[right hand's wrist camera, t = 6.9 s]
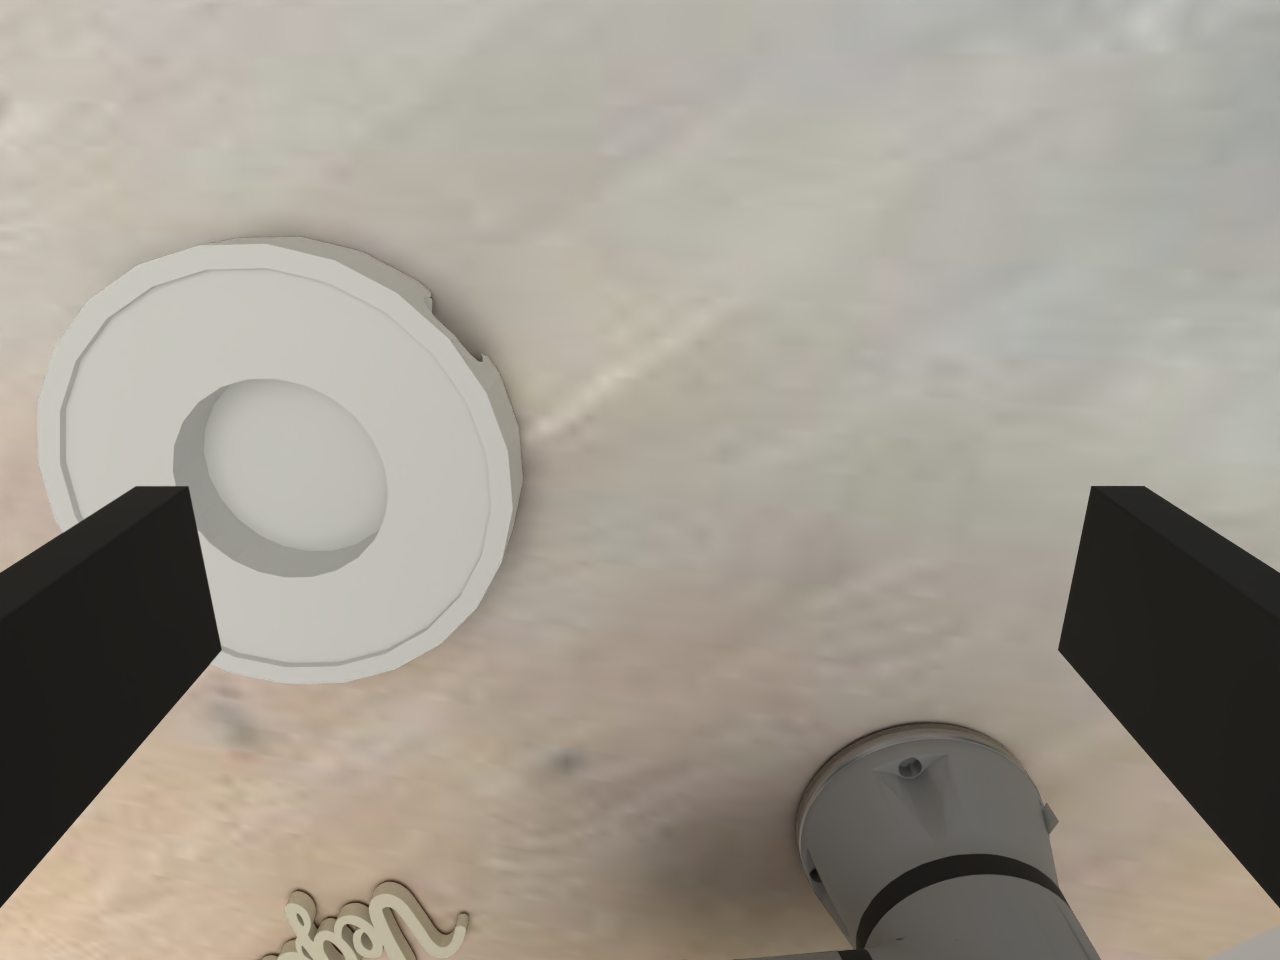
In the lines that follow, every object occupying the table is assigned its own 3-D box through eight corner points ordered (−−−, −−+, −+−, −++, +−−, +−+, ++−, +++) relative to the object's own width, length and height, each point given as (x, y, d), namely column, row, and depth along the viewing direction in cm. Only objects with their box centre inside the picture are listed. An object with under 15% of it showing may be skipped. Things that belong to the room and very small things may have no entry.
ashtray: (536, 262, 41) (526, 272, 38) (511, 662, 50) (501, 703, 46) (58, 209, 41) (-1, 214, 37) (112, 625, 49) (69, 664, 45)
